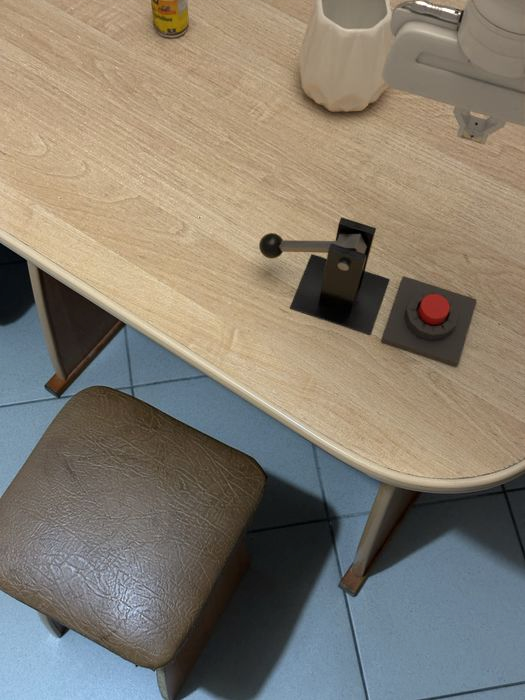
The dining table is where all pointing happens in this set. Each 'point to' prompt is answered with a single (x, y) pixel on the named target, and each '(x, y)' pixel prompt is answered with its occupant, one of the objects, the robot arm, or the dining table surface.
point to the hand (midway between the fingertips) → (471, 136)
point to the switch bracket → (342, 284)
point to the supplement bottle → (170, 17)
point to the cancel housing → (422, 337)
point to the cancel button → (433, 309)
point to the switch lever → (307, 245)
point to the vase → (346, 53)
